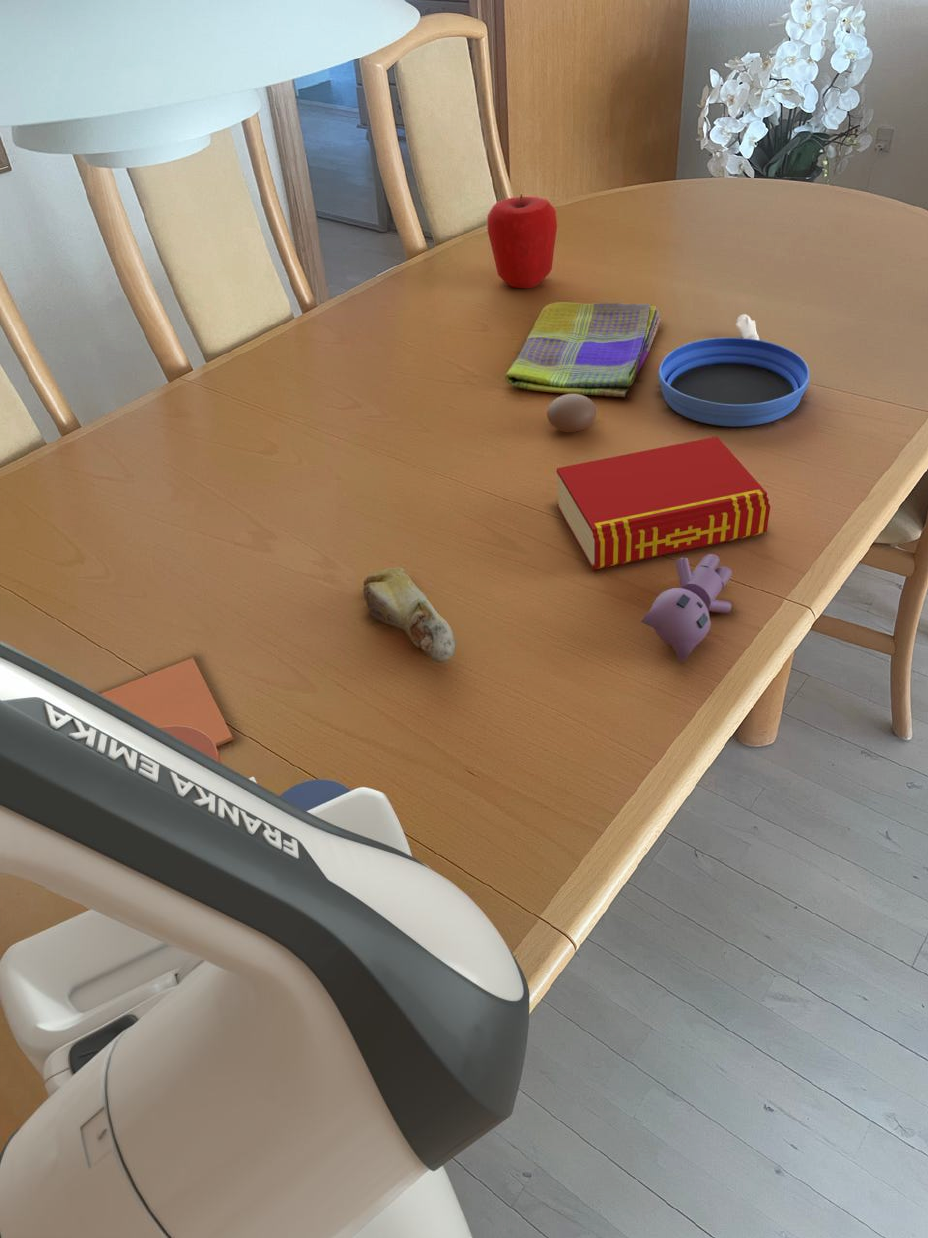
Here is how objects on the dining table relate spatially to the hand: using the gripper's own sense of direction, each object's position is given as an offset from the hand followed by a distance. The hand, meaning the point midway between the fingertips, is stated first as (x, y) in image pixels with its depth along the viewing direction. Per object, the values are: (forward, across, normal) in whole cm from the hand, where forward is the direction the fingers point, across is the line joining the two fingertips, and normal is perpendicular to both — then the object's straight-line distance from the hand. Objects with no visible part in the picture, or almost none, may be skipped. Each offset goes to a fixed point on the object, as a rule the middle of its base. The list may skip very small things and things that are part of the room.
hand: (178, 816), depth 53 cm
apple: (+94, -78, +19) cm, 124 cm away
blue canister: (+4, -8, +19) cm, 21 cm away
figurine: (+14, -48, +19) cm, 53 cm away
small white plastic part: (+56, -91, +19) cm, 109 cm away
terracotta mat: (+30, 0, +19) cm, 35 cm away
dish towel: (+67, -71, +19) cm, 99 cm away
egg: (+51, -59, +19) cm, 80 cm away
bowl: (+46, -79, +19) cm, 94 cm away
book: (+29, -55, +19) cm, 65 cm away
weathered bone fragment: (+28, -25, +20) cm, 42 cm away
